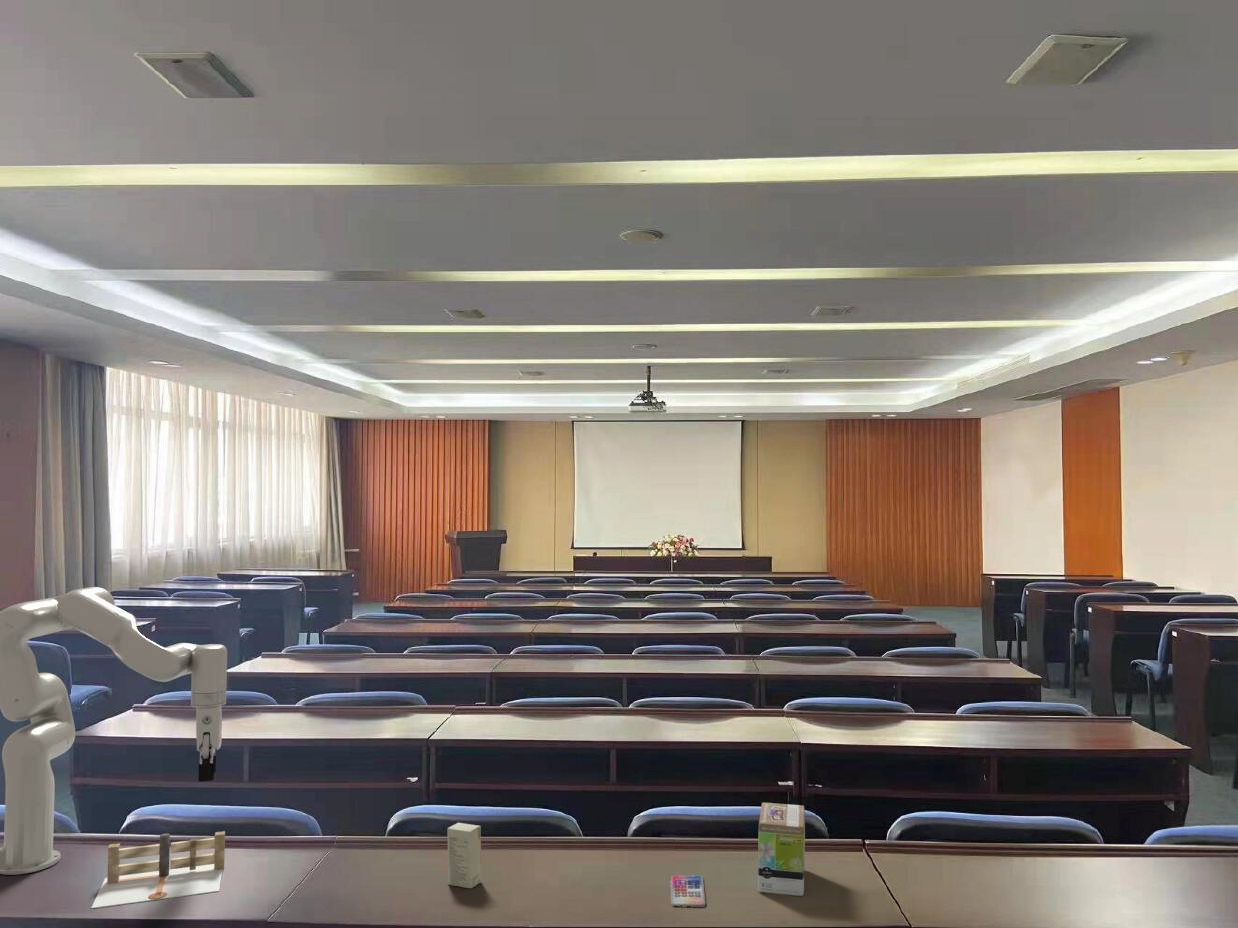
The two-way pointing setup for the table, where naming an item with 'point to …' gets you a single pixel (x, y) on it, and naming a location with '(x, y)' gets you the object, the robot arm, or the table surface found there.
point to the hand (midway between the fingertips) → (207, 776)
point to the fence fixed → (141, 867)
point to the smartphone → (687, 891)
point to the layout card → (159, 886)
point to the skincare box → (464, 855)
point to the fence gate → (200, 860)
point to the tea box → (781, 849)
